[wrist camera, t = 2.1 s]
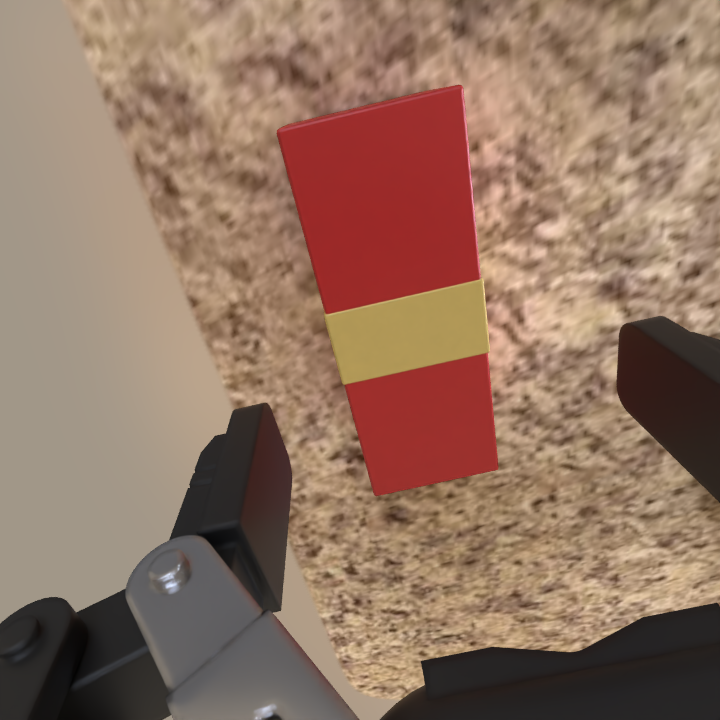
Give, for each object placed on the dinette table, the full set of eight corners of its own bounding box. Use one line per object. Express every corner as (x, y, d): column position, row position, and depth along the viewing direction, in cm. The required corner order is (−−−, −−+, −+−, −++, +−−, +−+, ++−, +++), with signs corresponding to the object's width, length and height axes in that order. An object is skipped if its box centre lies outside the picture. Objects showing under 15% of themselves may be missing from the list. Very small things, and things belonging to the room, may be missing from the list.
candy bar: (284, 125, 15) (272, 130, 11) (429, 90, 14) (466, 82, 11) (363, 429, 20) (373, 498, 17) (468, 406, 20) (501, 471, 16)
